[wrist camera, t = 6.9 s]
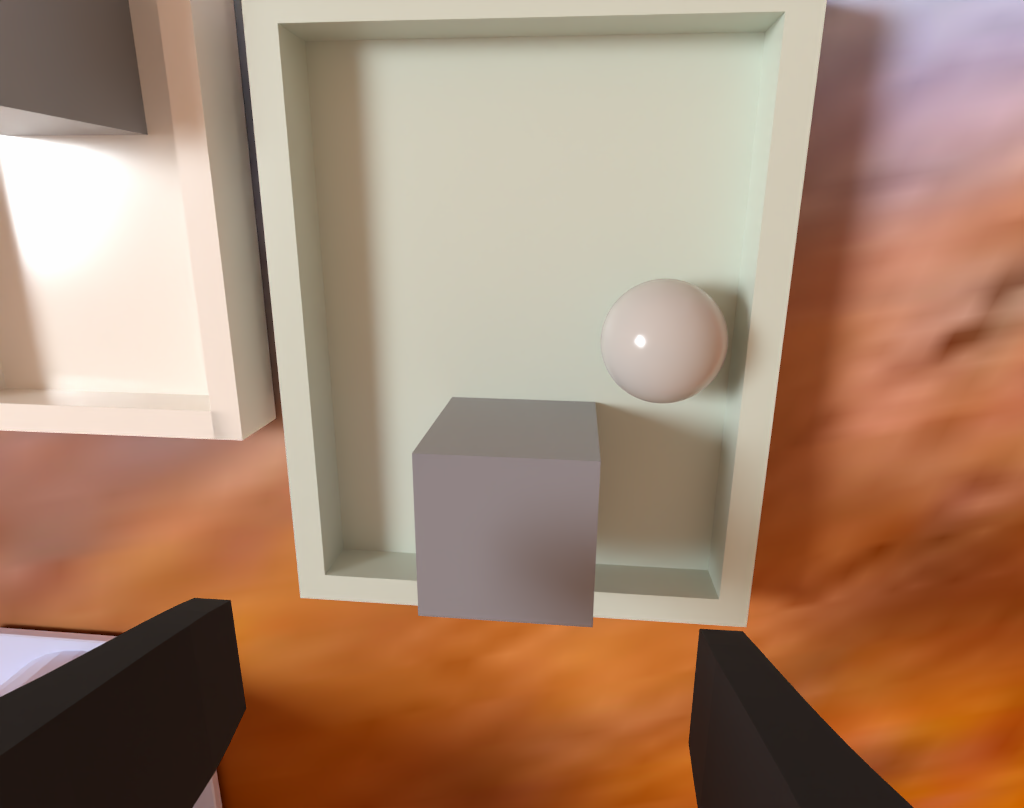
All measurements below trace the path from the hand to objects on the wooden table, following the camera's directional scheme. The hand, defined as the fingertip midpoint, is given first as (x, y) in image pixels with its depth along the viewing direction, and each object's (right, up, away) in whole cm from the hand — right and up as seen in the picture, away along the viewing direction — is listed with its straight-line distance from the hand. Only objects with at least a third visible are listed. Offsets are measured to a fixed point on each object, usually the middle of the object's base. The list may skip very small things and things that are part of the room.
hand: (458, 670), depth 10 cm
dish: (-11, +10, +8) cm, 17 cm away
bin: (+1, +6, +8) cm, 10 cm away
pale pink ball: (+5, +6, +7) cm, 10 cm away
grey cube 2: (+1, +2, +9) cm, 9 cm away
